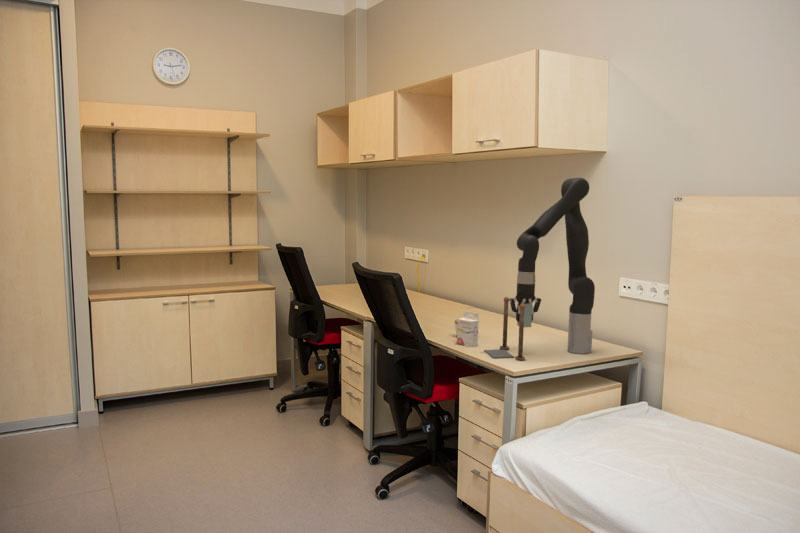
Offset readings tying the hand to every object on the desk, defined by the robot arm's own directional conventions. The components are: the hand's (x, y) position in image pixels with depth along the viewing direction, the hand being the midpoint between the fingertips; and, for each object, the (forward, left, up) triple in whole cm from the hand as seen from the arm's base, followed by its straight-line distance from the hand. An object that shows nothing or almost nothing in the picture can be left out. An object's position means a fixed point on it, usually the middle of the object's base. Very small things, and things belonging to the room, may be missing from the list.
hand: (524, 321), depth 255 cm
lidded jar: (+15, -35, -14) cm, 41 cm away
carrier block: (0, 0, -2) cm, 2 cm away
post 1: (+5, -9, -14) cm, 17 cm away
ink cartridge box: (+19, -19, -14) cm, 30 cm away
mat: (+11, 0, -14) cm, 18 cm away
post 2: (+5, +9, -14) cm, 17 cm away
